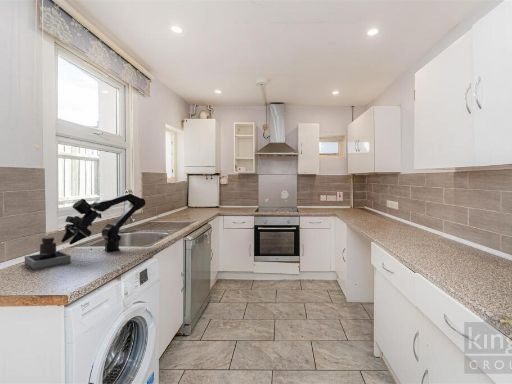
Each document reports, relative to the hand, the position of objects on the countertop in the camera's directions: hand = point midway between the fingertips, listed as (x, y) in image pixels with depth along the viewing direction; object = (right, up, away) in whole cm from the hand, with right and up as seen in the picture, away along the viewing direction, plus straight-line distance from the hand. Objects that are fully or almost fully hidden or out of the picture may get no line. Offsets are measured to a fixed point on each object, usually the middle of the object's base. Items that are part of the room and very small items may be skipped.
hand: (65, 243), depth 145 cm
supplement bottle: (-5, -8, -6) cm, 11 cm away
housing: (-5, -9, -6) cm, 12 cm away
